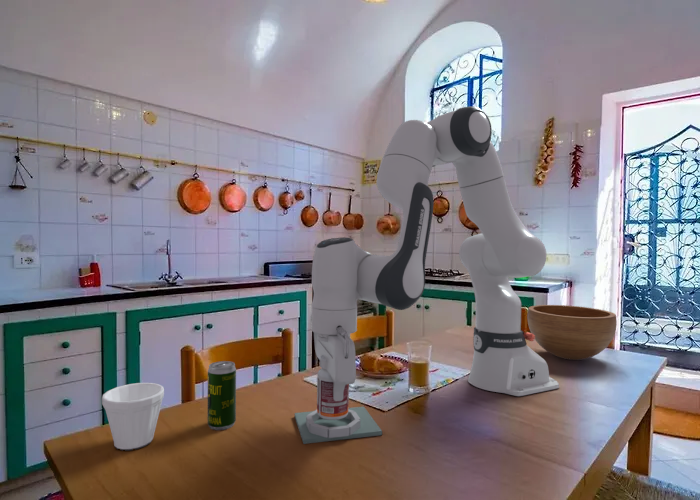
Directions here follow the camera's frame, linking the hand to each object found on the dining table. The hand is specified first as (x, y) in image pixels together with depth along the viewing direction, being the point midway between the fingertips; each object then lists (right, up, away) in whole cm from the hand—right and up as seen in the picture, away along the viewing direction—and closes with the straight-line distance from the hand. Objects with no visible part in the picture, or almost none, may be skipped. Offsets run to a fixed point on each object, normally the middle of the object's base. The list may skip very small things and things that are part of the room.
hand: (333, 392), depth 83 cm
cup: (-36, -7, -6) cm, 37 cm away
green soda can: (-22, -7, +1) cm, 23 cm away
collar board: (+1, -7, +2) cm, 7 cm away
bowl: (+73, -7, +53) cm, 90 cm away
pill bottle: (0, -5, 0) cm, 5 cm away
